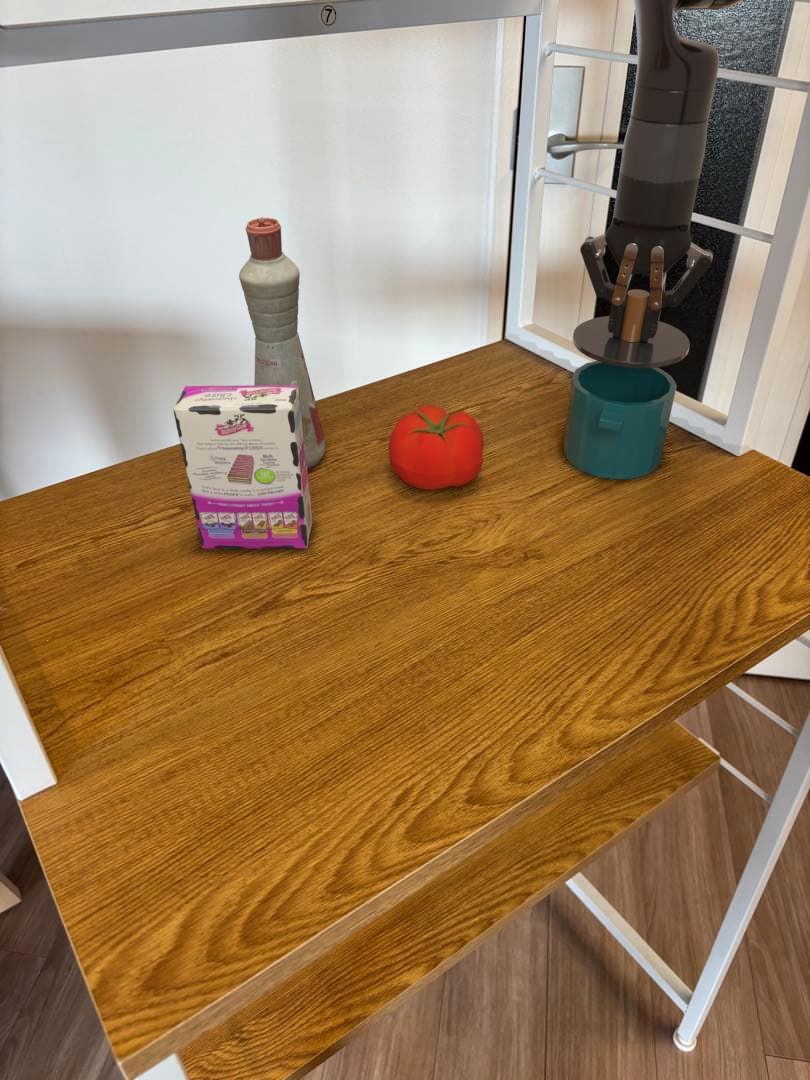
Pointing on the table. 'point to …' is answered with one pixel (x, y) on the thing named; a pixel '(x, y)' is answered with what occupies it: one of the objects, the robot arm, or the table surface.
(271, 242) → the bottle
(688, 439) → the table surface
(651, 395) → the pot
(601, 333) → the lid
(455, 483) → the tomato
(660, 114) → the robot arm
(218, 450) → the candy bar box
